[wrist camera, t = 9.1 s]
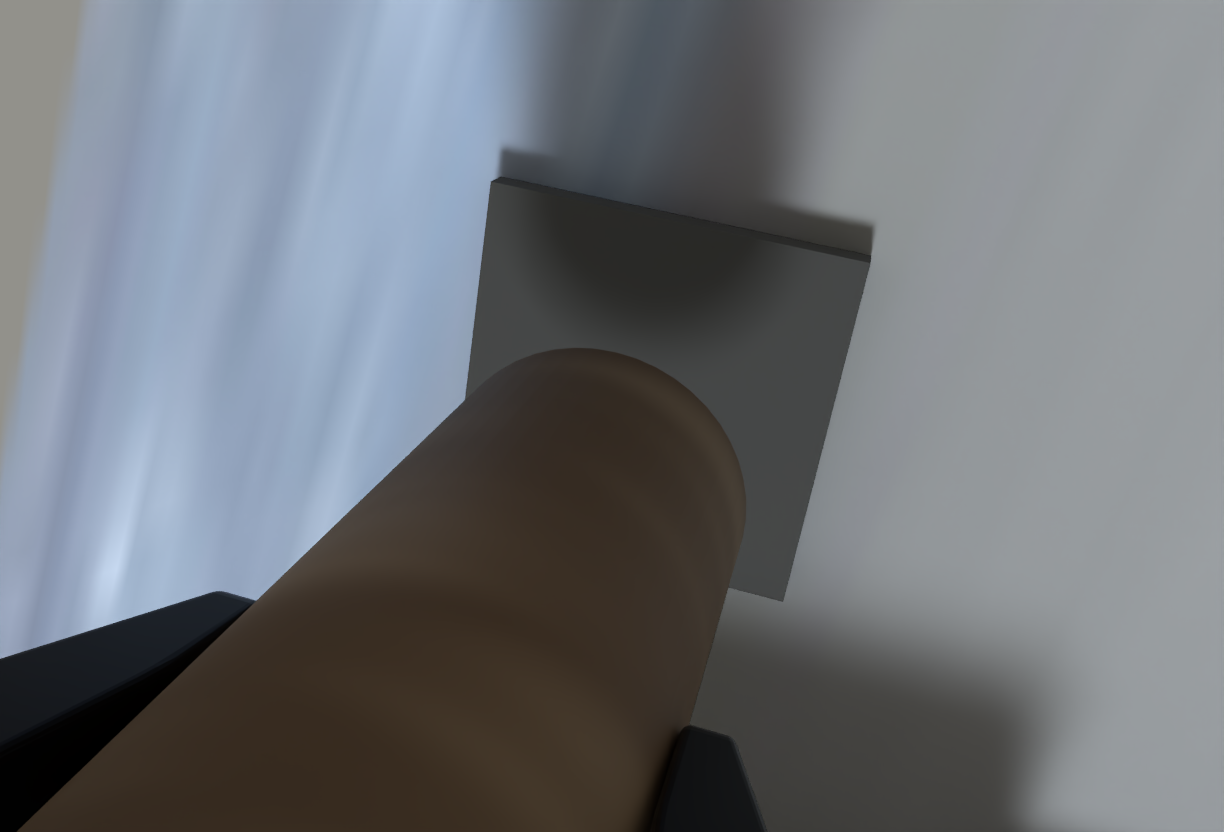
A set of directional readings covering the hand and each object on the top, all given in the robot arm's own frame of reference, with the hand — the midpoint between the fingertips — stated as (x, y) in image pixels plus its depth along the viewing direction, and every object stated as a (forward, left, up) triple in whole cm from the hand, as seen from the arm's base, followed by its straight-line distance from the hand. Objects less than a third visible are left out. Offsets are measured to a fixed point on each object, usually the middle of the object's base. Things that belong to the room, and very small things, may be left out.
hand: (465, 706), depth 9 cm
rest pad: (0, 0, -8) cm, 8 cm away
